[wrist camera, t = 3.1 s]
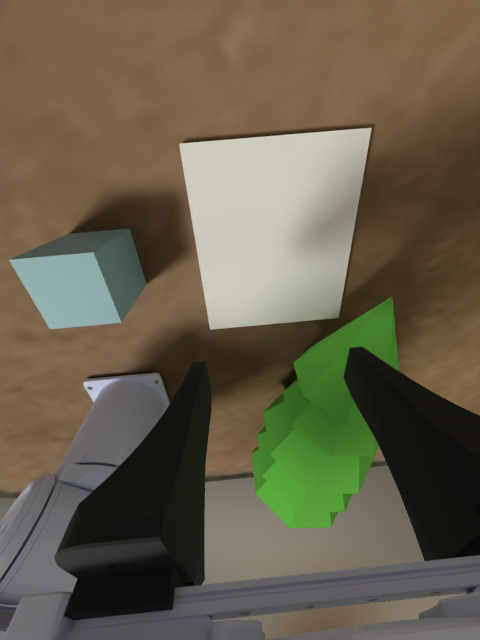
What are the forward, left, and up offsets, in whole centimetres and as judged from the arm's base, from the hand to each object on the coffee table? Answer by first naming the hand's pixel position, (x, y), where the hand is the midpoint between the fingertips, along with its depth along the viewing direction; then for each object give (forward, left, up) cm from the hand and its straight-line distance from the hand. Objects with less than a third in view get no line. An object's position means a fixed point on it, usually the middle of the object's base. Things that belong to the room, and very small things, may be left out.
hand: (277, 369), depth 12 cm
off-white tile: (+3, -2, -10) cm, 11 cm away
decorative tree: (-14, -6, -11) cm, 18 cm away
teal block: (+3, +11, -10) cm, 16 cm away
